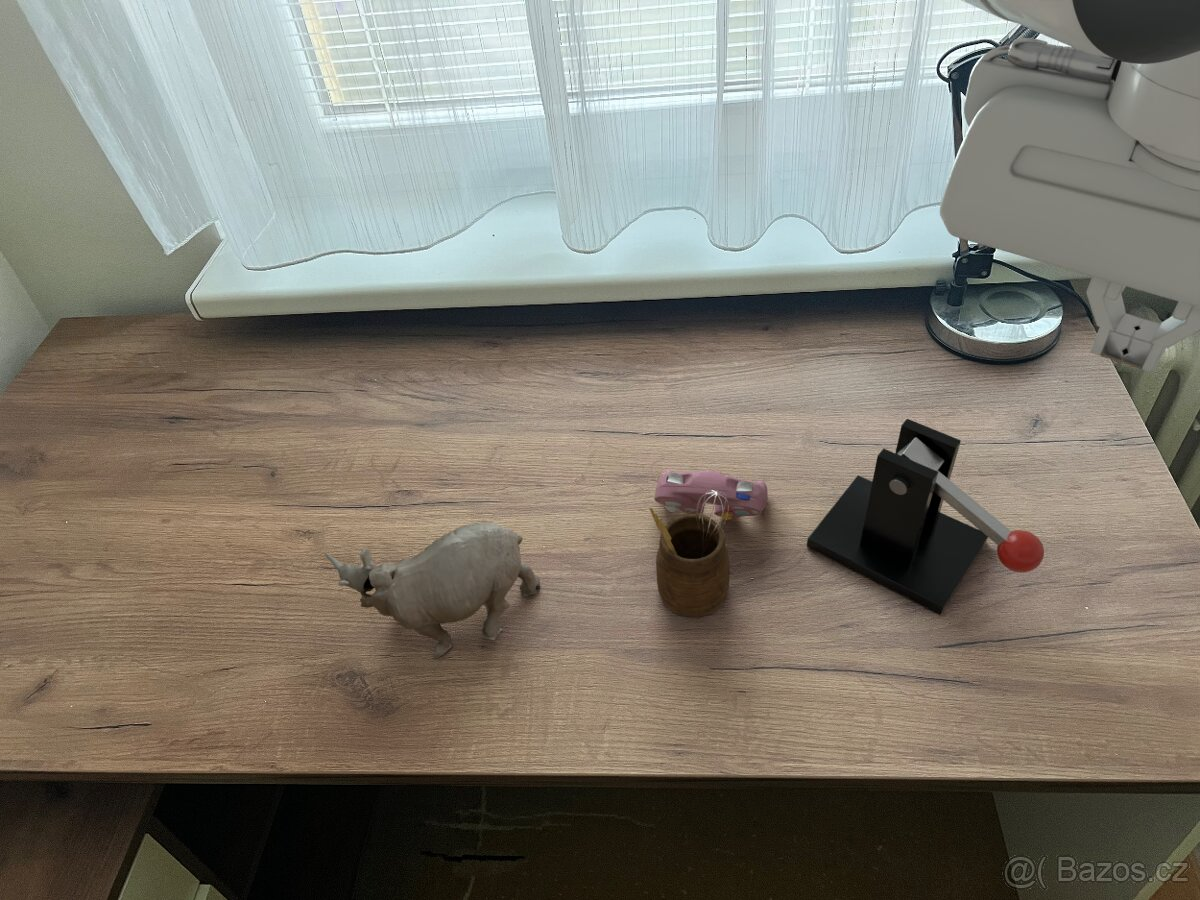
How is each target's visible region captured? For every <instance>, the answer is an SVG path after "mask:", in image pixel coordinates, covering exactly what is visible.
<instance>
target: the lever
mask: <svg viewBox="0 0 1200 900" xmlns="http://www.w3.org/2000/svg"><path fill="white" fill-rule="evenodd" d="M898 455H900V456H903V457H905V458H907V459H910V460H912V461H914V462H917V463H919V464H921V465H924V466H926V467H928V468H931V469H933V470H935V471H938V469H939V468H940V466H941V465H942V464H943V462H944V460H943V459H942V458H941V457H940V456H938V455H937V454H936V453H935V452H933V451H932V450H931V449H930V448H929V447H927V446H926V445H925V444H924V443H923V442H921V441H920V440H919V439H918V438H916V437H915V438H914V439H913V440H912V441H910V442H909V443H908V444H907V445H906V446H905V447H904V448H903V449H901V450H900V451H899V452H898ZM933 492H935V493H936V494H937V495H938V496H939V497H941V498H942V499H943V500H944V501H943V502H946V503H947V504H948V505H949V506H950V507H951V508H953V510H955V511H956V512H957V513H959V514H960V515H961V516H962V517H963V518H964V519H966V520H967V521H968V522H969V523H970V524H972V525H973V526H974V528H976V529H978V530H980V531H981V532H983V533H984V534H985V535H986V536H988V539H990V540H991V542H994V544H996V545H997V547H996V554H997V558H998V559H999V562H1000V563H1001V565H1003V566H1004V567H1005V568H1006V569H1008V570H1010V571H1012V572H1015V573H1019V574H1020V573H1021V574H1022V573H1030V572H1032V571H1034V570H1036V569H1037V568H1038V567H1039V566H1040V565H1041V563H1042V562H1043V560H1044V557H1045V548H1044V545H1043V543H1042V540H1041V539H1040V538H1039V537H1038V536H1037V535H1036V534H1034V533H1033V532H1031V531H1027V530H1024V529H1016V530H1010V528H1008V527H1007V526H1006V525H1005V524H1004V523H1003V522H1001V521H1000V520H999V519H997V518H996V517H995V516H994V515H993V514H991V513H990V512H989V511H988V510H987V509H985V508H984V507H983V506H981V505H980V504H979V503H978V502H977V501H976V500H974V499H973V498H972V497H971V496H970V495H968V494H967V493H966V492H964V491H963V490H962V489H961V488H960V487H959V486H958V485H956V484H955V483H954V482H953V481H951V480H949V479H948V478H946V477H945V476H944V475H943V474H942V473H940V472H939V471H938V476H937V479H936V483H935V486H934V490H933Z"/></svg>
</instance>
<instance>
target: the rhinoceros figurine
mask: <svg viewBox="0 0 1200 900" xmlns="http://www.w3.org/2000/svg"><path fill="white" fill-rule="evenodd" d="M523 539H524V538H523V537H522V536H521V535H520V534H519V533H518V532H514V531H513V530H512V529H510V528H507V527H505V526H502V525H500V524H497V523H495V522H473V523H468V524H465V525H462V526H459V527H457V528H455V529H454V530H451V531H449V532H448V533H445V534H443V535H442V536H441V537H440V538H437V539H435V540H434V541H433V542H432V543H431V544H430V545H428V546H426V547H425V548H424V550H422V551H420V552H419V553H418V554H417V555H415V556H413V557H405V558H402V559H400V560H399V561H398V562H397V561H396V562H394V563H381V564H379V565H377V564H376V563H375V562H374V560H373V558H372V554H371V551H370V549H369V548H368V547H367V546H366V547H364V548H363V549H362V550H361V552H360V553H359V558H360V560H361V561H362V564H352V563H348V562H346V563H343V562H342V561H340V560H338V559H336V558H334V557H333V556H332V555H330V554H329V553H328V552H324V556H325V557H326V559H327V560H329V561H330V563H331V564H332V566H333V567H334V568H335V569H336V570H337V571H338V575H339V579H340V580H339V581H338V582H337V584H338V585H339V586H340V587H347V588H350V589H351V590H352V589H353V590H355V591H357V593H360V595H361V598H359V601H360V607H361V608H366V609H368V608H369V609H370V608H374V609H376V611H377V612H378V613H379V614H380V615H382V616H385V617H391V618H393V619H394V620H395V621H396V622H397V623H398V624H399V625H400V626H401V627H402V628H404V629H405V630H413V631H414V632H416V633H418V634H419V635H422V636H425V637H429V638H431V639H432V640H434V641H436V642H438V643H437V644H436V646H435V649H434V653H433V658H436V659H439V658H440V657H442V656H443V655H445V654H446V653H447V652H448V651H449V650H450V649H451V648H452V647H453V646H454V644H453V643H451V642H452V638H453V637H452V636H451V634H450V633H449V632H448V630H446V629H445V628H443V626H441V625H442V624H447V623H458V622H461V621H464V620H466V619H468V618H470V617H472V616H473V615H474V614H476V613H477V612H478V611H479V610H480V609H481V607H482V606H484V607H485V608H486V613H487V614H486V619H485V620H484V622H483V625H482V626H483V627H482V633H481V636H480V639H483V638H484V639H485V640H490V641H495V640H496V638H497V637H499V635H500V632H502V631H503V630H504V628H503V627H501V625H500V622H499V619H500V617H501V615H502V614H503V613H504V612H505V611H506V610H508V609H509V607H510V604H509V602H508V601H507V600H506V598H505V597H506V595H508V593H509V591H510V590H511V589H512V588H513V586H514V584H515V583H516V581H517V580H518V578H519V579H521V584H520V585H519V587H520V590H521V593H522V595H523V597H529V596H530V595H531V596H532V595H536V594H538V592H539V590H536V589H537V586H538V587H539V588H541V581H540V577H539V575H537V574H535V573H534V571H533V569H532V568H531V566H530V565H528V564H526V562H524V561H522V558H521V547H520V544H522V542H523V541H524V540H523ZM538 584H539V585H538ZM374 590H375V591H374ZM371 591H374V592H373V593H372V595H371V594H369V593H368V592H371Z"/></svg>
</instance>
